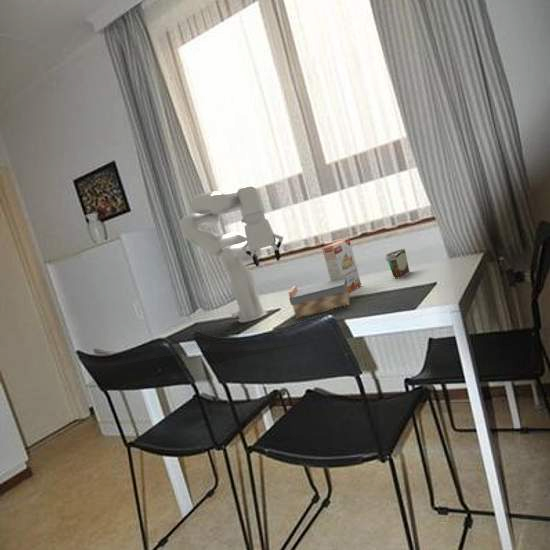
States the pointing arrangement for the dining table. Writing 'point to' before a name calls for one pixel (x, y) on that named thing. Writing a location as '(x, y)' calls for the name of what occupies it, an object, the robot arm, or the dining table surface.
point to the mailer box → (322, 304)
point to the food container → (398, 263)
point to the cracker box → (342, 263)
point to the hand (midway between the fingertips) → (268, 262)
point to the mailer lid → (317, 291)
